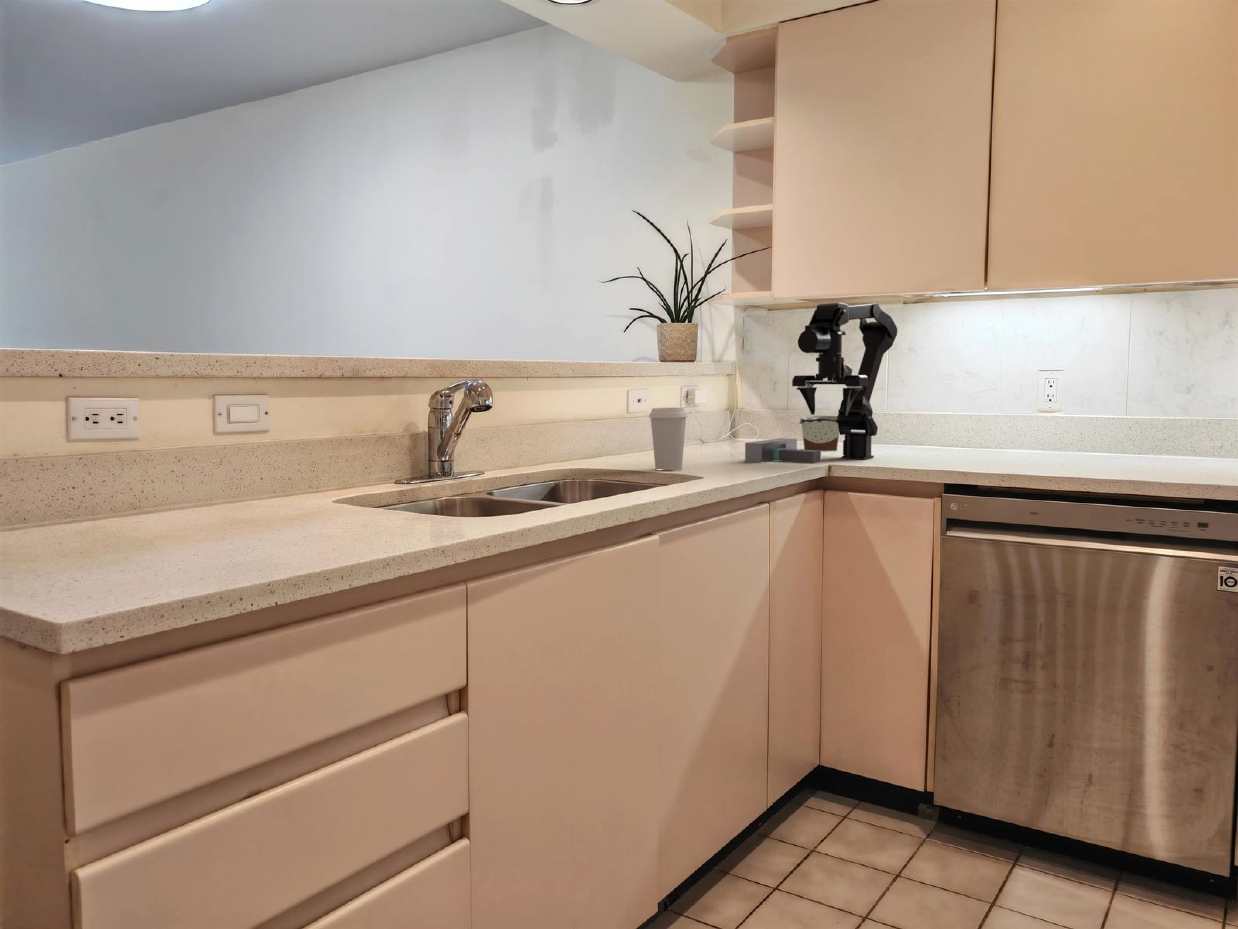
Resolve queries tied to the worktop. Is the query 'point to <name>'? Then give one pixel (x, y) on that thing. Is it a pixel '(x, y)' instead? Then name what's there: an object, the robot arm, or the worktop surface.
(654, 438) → the coffee cup
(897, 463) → the worktop surface
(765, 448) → the long gray rectangular block
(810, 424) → the food container
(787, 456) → the bar
